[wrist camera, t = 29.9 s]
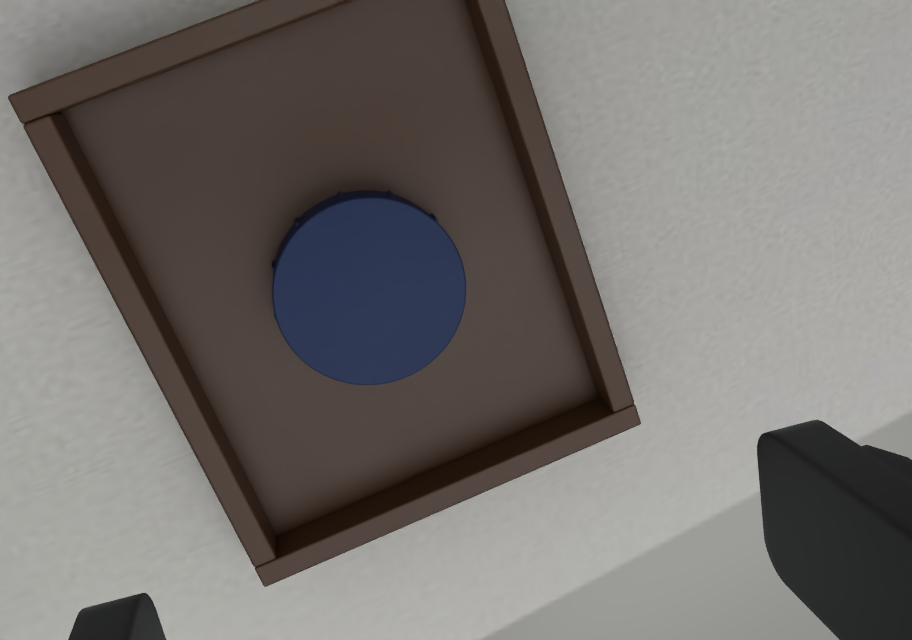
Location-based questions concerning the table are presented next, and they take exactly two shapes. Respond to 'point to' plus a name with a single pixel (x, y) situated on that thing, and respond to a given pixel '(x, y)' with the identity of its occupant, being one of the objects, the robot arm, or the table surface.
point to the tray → (289, 196)
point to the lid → (368, 287)
